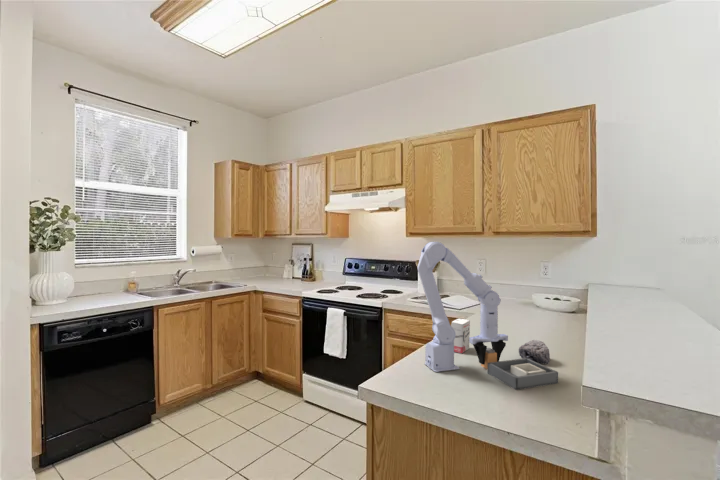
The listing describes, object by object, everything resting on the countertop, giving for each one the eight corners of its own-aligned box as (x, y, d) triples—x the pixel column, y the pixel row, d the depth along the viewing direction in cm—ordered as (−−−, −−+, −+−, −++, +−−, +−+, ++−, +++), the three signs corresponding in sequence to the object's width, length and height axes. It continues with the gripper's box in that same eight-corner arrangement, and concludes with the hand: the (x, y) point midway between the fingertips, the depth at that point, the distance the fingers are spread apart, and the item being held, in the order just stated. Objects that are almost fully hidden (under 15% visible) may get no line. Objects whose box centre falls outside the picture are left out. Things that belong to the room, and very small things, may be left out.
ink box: (462, 354, 132) (462, 323, 132) (450, 351, 135) (450, 321, 135) (470, 348, 139) (470, 319, 139) (458, 346, 142) (458, 317, 142)
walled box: (515, 389, 101) (515, 378, 101) (487, 373, 113) (487, 362, 113) (558, 383, 106) (558, 372, 105) (526, 368, 118) (526, 358, 118)
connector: (488, 369, 116) (488, 351, 116) (481, 365, 120) (481, 348, 120) (496, 368, 117) (496, 350, 117) (489, 364, 121) (489, 347, 121)
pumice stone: (526, 371, 121) (555, 365, 119) (520, 350, 121) (549, 344, 120) (518, 360, 131) (545, 354, 129) (513, 341, 132) (539, 335, 130)
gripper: (478, 328, 113) (478, 369, 113) (514, 325, 117) (514, 364, 117) (465, 323, 120) (465, 361, 120) (500, 320, 124) (500, 357, 124)
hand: (488, 362), depth 119 cm, fingers open, 5 cm apart
